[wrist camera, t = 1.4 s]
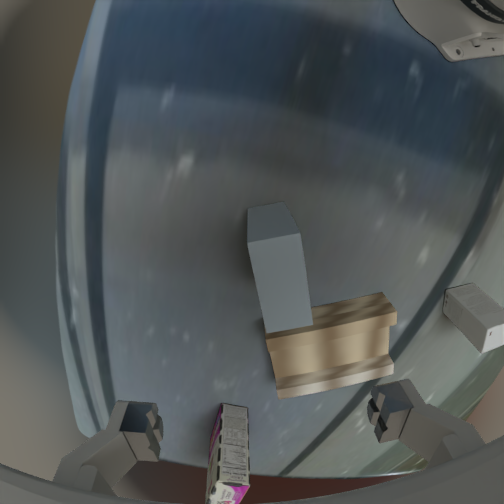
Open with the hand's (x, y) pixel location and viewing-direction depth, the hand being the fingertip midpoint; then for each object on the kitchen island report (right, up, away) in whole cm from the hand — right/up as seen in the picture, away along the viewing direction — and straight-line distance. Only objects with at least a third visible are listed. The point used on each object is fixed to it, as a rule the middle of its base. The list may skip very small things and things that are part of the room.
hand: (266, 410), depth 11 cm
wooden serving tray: (+10, -6, +34) cm, 36 cm away
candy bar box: (-5, -24, +41) cm, 48 cm away
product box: (+2, +7, +29) cm, 30 cm away
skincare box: (+32, -1, +33) cm, 46 cm away
